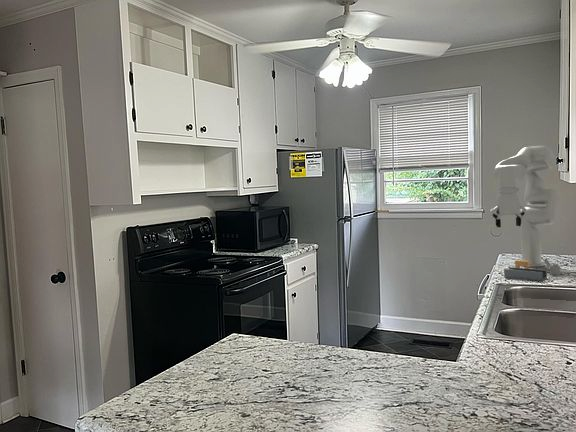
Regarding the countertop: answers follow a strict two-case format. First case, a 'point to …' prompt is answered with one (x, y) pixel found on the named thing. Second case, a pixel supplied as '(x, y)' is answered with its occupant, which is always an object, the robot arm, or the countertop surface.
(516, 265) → the clip
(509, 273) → the grey flat block
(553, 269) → the grey irregular flat piece
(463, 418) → the countertop surface
